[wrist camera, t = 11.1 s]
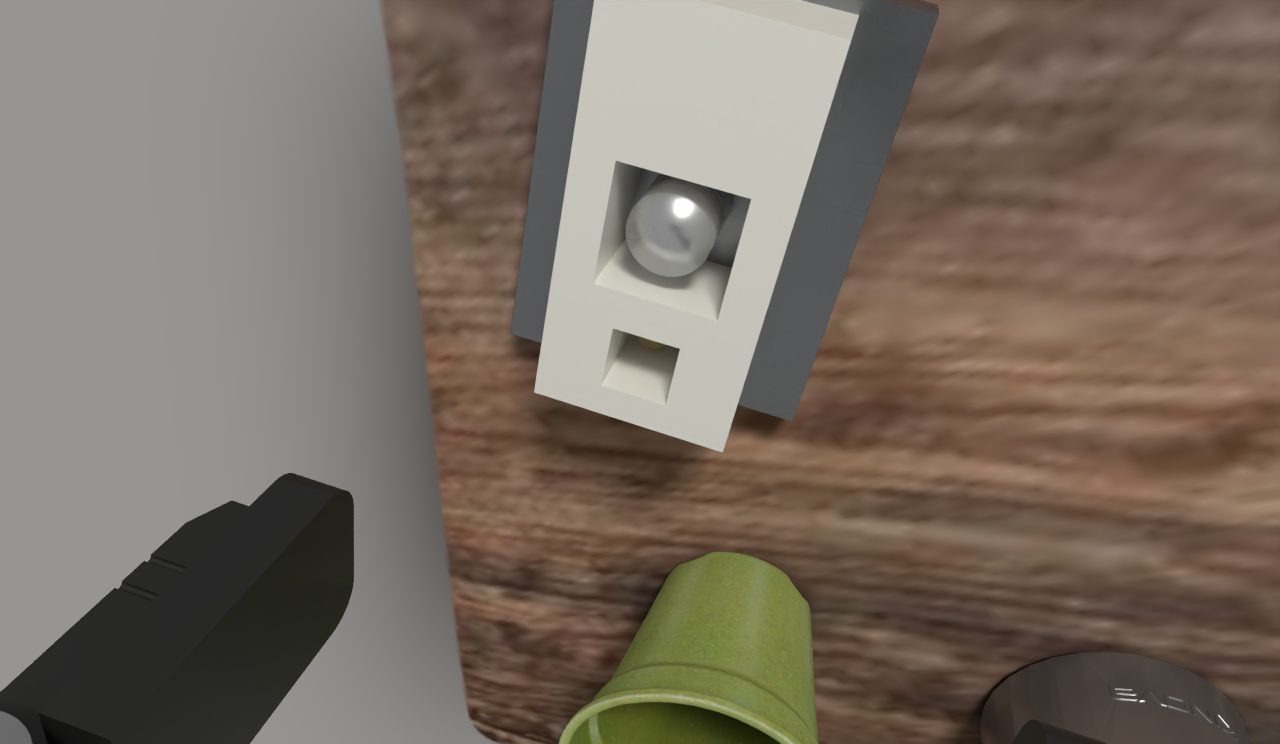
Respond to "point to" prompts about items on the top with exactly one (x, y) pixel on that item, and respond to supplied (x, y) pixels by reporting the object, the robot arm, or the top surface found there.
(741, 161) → the white block with recesses
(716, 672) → the plant pot
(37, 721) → the robot arm
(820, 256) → the base plate
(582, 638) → the top surface
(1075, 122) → the top surface
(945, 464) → the top surface
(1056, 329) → the top surface
